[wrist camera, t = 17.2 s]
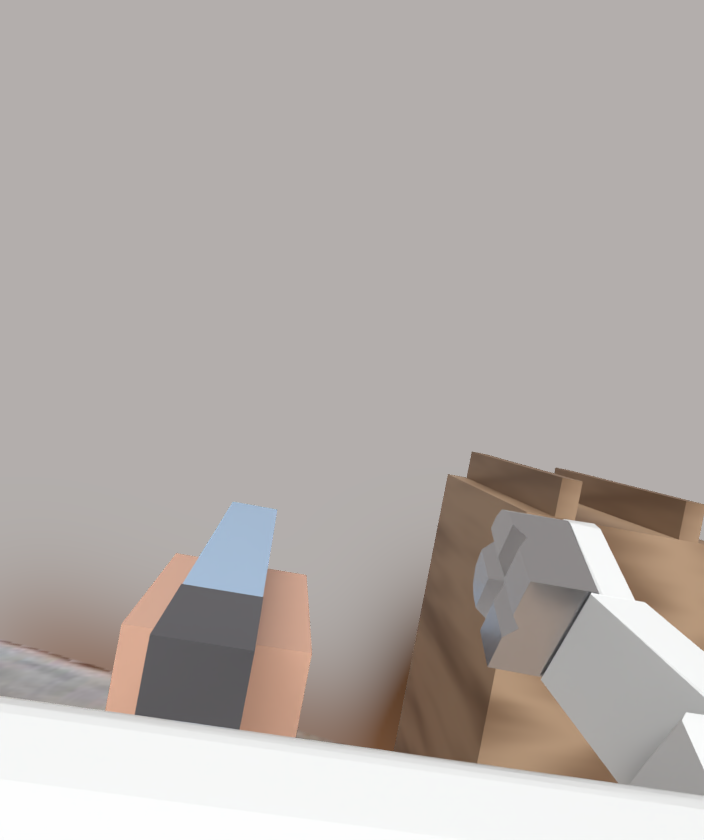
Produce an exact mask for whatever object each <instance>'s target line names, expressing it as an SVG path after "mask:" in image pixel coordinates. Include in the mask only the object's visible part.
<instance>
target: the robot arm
mask: <svg viewBox="0 0 704 840" xmlns="http://www.w3.org/2000/svg"><path fill="white" fill-rule="evenodd" d="M491 531H492V535H493V539H494V542H492V543H491V544H489V545H488V546H486V547H485V548H483V549H482V550H481V553H480V555H479V558H478V561H477V563H476V567H475V573H474V579H473V596H474V601H475V607H476V608H477V610H478V611H479V612H480V613H481V614H482V615H483V616H484V617H485V618H486V619H485V621H484V623H483V625H482V627H481V630H480V633H481V638H482V643H483V648H484V653H485V658H486V663H487V667H489V668H495V669H500V670H506V671H511V672H516V673H522V674H527V675H533V676H538V677H542V678H541V681H542V682H543V683H544V685H545V686H546V687H547V689H548V690H549V691H550V693H551V694H552V695H553V697H554V698H555V699H556V701H557V702H558V703H559V705H560V706H561V707H562V709H563V710H564V711H565V713H566V714H567V715H568V717H569V718H570V719H571V721H572V722H573V723H574V725H575V726H576V727H577V729H578V730H579V731H580V733H581V734H582V735H583V737H584V738H585V739H586V741H587V742H588V743H589V745H590V746H591V747H592V749H593V750H594V751H595V753H596V754H597V755H598V757H599V758H600V759H601V761H602V762H603V763H604V765H605V766H606V767H607V769H608V770H609V771H610V773H611V774H612V775H613V777H614V778H615V779H616V781H617V782H618V783H612V782H605V781H598V780H591V779H584V778H577V777H570V776H563V775H556V774H549V773H541V772H534V771H527V770H520V769H513V768H506V767H499V766H492V765H485V764H478V763H471V762H464V761H457V760H450V759H443V758H436V757H429V756H422V755H414V754H407V753H400V752H393V751H386V750H379V749H372V748H365V747H358V746H351V745H344V744H337V743H330V742H323V741H316V740H309V739H302V738H295V737H287V736H280V735H273V734H266V733H259V732H252V731H245V730H238V729H231V728H224V727H217V726H210V725H203V724H196V723H189V722H181V721H174V720H167V719H160V718H153V717H146V716H139V715H132V714H125V713H118V712H111V711H104V710H97V709H90V708H83V707H76V706H68V705H61V704H54V703H47V702H40V701H33V700H26V699H19V698H12V697H5V696H0V840H704V651H703V650H701V649H700V648H699V647H698V646H697V645H695V644H694V643H693V642H692V641H691V640H689V639H688V638H687V637H686V636H685V635H683V634H682V633H681V632H680V631H679V630H677V629H676V628H675V627H674V626H673V625H671V624H670V623H669V622H668V621H667V620H665V619H664V618H663V617H662V616H661V615H659V614H658V613H657V612H656V611H655V610H654V609H652V608H651V607H650V606H649V605H648V604H646V603H645V602H640V601H635V599H634V597H633V595H632V593H631V591H630V589H629V587H628V585H627V583H626V580H625V578H624V576H623V574H622V572H621V570H620V568H619V566H618V564H617V562H616V560H615V558H614V556H613V554H612V552H611V550H610V548H609V546H608V543H607V541H606V539H605V537H604V535H603V533H602V531H601V529H600V528H599V527H598V526H596V525H595V524H593V523H587V522H580V521H574V520H567V519H563V520H560V519H555V518H549V517H543V516H538V515H532V514H526V513H520V512H515V511H509V510H503V509H502V510H501V511H500V512H499V514H498V515H497V516H496V518H495V520H494V522H493V525H492V527H491Z"/></svg>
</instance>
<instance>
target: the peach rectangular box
mask: <svg viewBox="0 0 704 840" xmlns="http://www.w3.org/2000/svg"><path fill="white" fill-rule="evenodd" d="M198 558H199V557H195V556H189V555H183V554H177V553H176V554H175V556H174V557H173V558H172V560H171V561H170V562H169V563H168V565H167V566H166V567H165V569H164V570H163V571H162V572H161V574H160V575H159V576H158V578H157V579H156V580H155V581H154V583H153V584H152V585H151V587H150V588H149V589H148V591H147V592H146V593H145V594H144V596H143V597H142V598H141V600H140V601H139V602H138V603H137V605H136V606H135V607H134V609H133V610H132V611H131V612H130V614H129V615H128V616H127V618H126V619H125V620H124V621H123V623H122V625H121V630H120V636H119V641H118V646H117V652H116V657H115V662H114V667H113V672H112V678H111V683H110V688H109V694H108V699H107V704H106V709H105V711H111V712H118V713H125V714H132V715H135V710H136V705H137V699H138V694H139V689H140V684H141V678H142V673H143V668H144V663H145V657H146V652H147V647H148V642H149V636H150V633H151V632H152V630H153V629H154V627H155V625H156V624H157V622H158V621H159V619H160V617H161V616H162V614H163V612H164V611H165V609H166V608H167V606H168V604H169V603H170V601H171V600H172V598H173V596H174V595H175V593H176V592H177V590H178V588H179V587H180V585H181V584H183V582H184V580H185V579H186V577H187V575H188V574H189V572H190V571H191V569H192V567H193V566H194V564H195V563H196V561H197V559H198ZM311 655H312V648H311V633H310V619H309V604H308V591H307V576H306V575H303V574H297V573H291V572H285V571H279V570H273V569H267V575H266V581H265V587H264V594H263V603H262V610H261V616H260V622H259V628H258V634H257V641H256V647H255V653H254V658H253V663H252V668H251V673H250V679H249V684H248V689H247V694H246V699H245V705H244V710H243V715H242V720H241V725H240V730H245V731H252V732H259V733H266V734H273V735H280V736H287V737H295V738H296V733H297V728H298V722H299V717H300V712H301V706H302V702H303V696H304V691H305V686H306V681H307V676H308V671H309V666H310V661H311Z"/></svg>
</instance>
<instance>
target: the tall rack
mask: <svg viewBox="0 0 704 840" xmlns="http://www.w3.org/2000/svg"><path fill="white" fill-rule="evenodd" d="M502 509H503V510H509V511H515V512H520V513H526V514H532V515H538V516H543V517H549V518H555V519H560V520H563V519H567V520H574V521H580V522H587V523H593V524H595V525H596V526H598V527H599V528H600V529H601V531H602V533H603V535H604V537H605V539H606V541H607V543H608V546H609V548H610V550H611V552H612V554H613V556H614V558H615V560H616V562H617V564H618V566H619V568H620V570H621V572H622V574H623V576H624V578H625V580H626V583H627V585H628V587H629V589H630V591H631V593H632V595H633V597H634V599H635V601H640V602H645V603H646V604H648V605H649V606H650V607H651V608H652V609H654V610H655V611H656V612H657V613H658V614H659V615H661V616H662V617H663V618H664V619H665V620H667V621H668V622H669V623H670V624H671V625H673V626H674V627H675V628H676V629H677V630H679V631H680V632H681V633H682V634H683V635H685V636H686V637H687V638H688V639H689V640H691V641H692V642H693V643H694V644H695V645H697V646H698V647H699V648H700V649H701V650H703V651H704V541H702V540H699V535H700V531H701V526H702V521H703V516H704V504H700V503H696V502H692V501H689V500H685V499H681V498H676V497H673V496H669V495H665V494H661V493H657V492H653V491H649V490H645V489H641V488H637V487H633V486H629V485H625V484H621V483H617V482H613V481H609V480H606V479H602V478H597V477H594V476H590V475H585V474H582V473H578V472H574V471H570V470H564V469H559V468H555V473H551V472H547V471H543V470H540V469H536V468H533V467H529V466H526V465H522V464H518V463H514V462H511V461H508V460H504V459H501V458H497V457H493V456H490V455H486V454H481V453H476V452H472V454H471V459H470V464H469V469H468V474H467V478H466V477H460V476H455V475H450V474H448V478H447V482H446V487H445V492H444V498H443V502H442V508H441V513H440V518H439V523H438V528H437V533H436V539H435V543H434V548H433V553H432V559H431V564H430V569H429V574H428V579H427V585H426V589H425V595H424V599H423V604H422V610H421V615H420V620H419V625H418V630H417V635H416V641H415V645H414V651H413V656H412V661H411V666H410V671H409V676H408V681H407V686H406V691H405V696H404V701H403V707H402V712H401V717H400V722H399V727H398V732H397V737H396V743H395V747H394V752H400V753H407V754H414V755H422V756H429V757H436V758H443V759H450V760H457V761H464V762H471V763H478V764H485V765H492V766H499V767H506V768H513V769H520V770H527V771H534V772H541V773H549V774H556V775H563V776H570V777H577V778H584V779H591V780H598V781H605V782H612V783H618V782H617V781H616V779H615V778H614V777H613V775H612V774H611V773H610V771H609V770H608V769H607V767H606V766H605V765H604V763H603V762H602V761H601V759H600V758H599V757H598V755H597V754H596V753H595V751H594V750H593V749H592V747H591V746H590V745H589V743H588V742H587V741H586V739H585V738H584V737H583V735H582V734H581V733H580V731H579V730H578V729H577V727H576V726H575V725H574V723H573V722H572V721H571V719H570V718H569V717H568V715H567V714H566V713H565V711H564V710H563V709H562V707H561V706H560V705H559V703H558V702H557V701H556V699H555V698H554V697H553V695H552V694H551V693H550V691H549V690H548V689H547V687H546V686H545V685H544V683H543V682H542V681H541V678H542V677H538V676H533V675H527V674H522V673H516V672H511V671H506V670H500V669H495V668H489V667H487V663H486V658H485V653H484V648H483V643H482V638H481V633H480V630H481V627H482V625H483V623H484V621H485V619H486V618H485V617H484V616H483V615H482V614H481V613H480V612H479V611H478V610H477V608H476V607H475V601H474V596H473V579H474V573H475V567H476V563H477V561H478V558H479V555H480V553H481V550H482V549H483V548H485V547H486V546H488V545H489V544H491V543H492V542H494V539H493V535H492V531H491V527H492V525H493V522H494V520H495V518H496V516H497V515H498V514H499V512H500V511H501V510H502Z"/></svg>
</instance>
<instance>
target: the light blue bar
mask: <svg viewBox="0 0 704 840" xmlns="http://www.w3.org/2000/svg"><path fill="white" fill-rule="evenodd" d="M276 513H277V509H271V508H265V507H260V506H254V505H248V504H243V503H237V502H233V503H232V504H231V506H230V507H229V509H228V511H227V512H226V514H225V515H224V517H223V519H222V520H221V522H220V524H219V525H218V527H217V528H216V530H215V532H214V533H213V535H212V537H211V538H210V540H209V542H208V543H207V545H206V546H205V548H204V550H203V551H202V553H201V554H200V556H199V558H198V559H197V561H196V563H195V564H194V566H193V567H192V569H191V571H190V572H189V574H188V575H187V577H186V579H185V580H184V582H183V584H181V585H180V587H179V588H178V590H177V592H176V593H175V595H174V596H173V598H172V600H171V601H170V603H169V604H168V606H167V608H166V609H165V611H164V612H163V614H162V616H161V617H160V619H159V621H158V622H157V624H156V625H155V627H154V629H153V630H152V632H151V633H150V636H149V642H148V647H147V652H146V657H145V663H144V668H143V673H142V678H141V684H140V689H139V694H138V699H137V705H136V710H135V715H139V716H146V717H153V718H160V719H167V720H174V721H181V722H189V723H196V724H203V725H210V726H217V727H224V728H231V729H238V730H240V725H241V720H242V715H243V710H244V705H245V699H246V694H247V689H248V684H249V679H250V673H251V668H252V663H253V658H254V653H255V647H256V641H257V634H258V628H259V622H260V616H261V610H262V603H263V594H264V587H265V581H266V575H267V569H268V563H269V556H270V551H271V544H272V539H273V532H274V526H275V520H276Z"/></svg>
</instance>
